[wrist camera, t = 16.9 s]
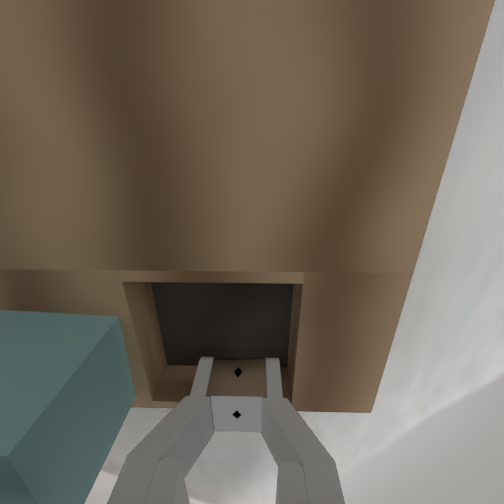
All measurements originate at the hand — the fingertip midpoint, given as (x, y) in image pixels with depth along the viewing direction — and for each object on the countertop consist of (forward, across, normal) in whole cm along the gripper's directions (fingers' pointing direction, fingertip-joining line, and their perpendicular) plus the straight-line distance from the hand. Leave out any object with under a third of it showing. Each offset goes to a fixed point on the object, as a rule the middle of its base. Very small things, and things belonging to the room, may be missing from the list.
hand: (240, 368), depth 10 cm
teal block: (+1, +8, +1) cm, 8 cm away
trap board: (+4, +7, -4) cm, 8 cm away
